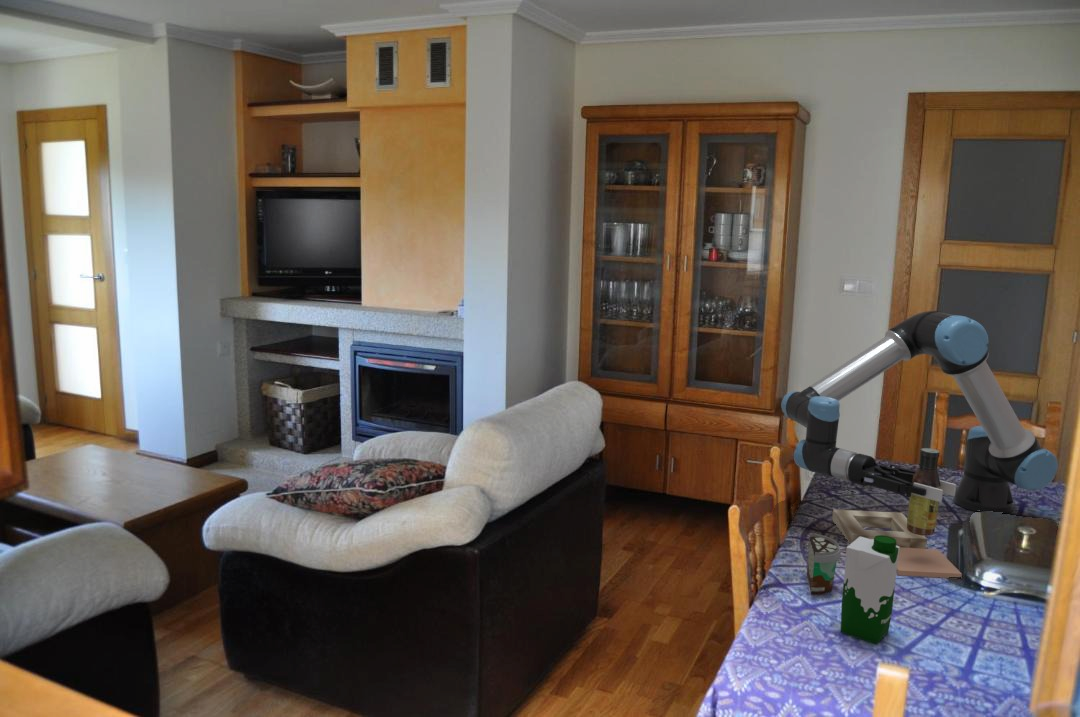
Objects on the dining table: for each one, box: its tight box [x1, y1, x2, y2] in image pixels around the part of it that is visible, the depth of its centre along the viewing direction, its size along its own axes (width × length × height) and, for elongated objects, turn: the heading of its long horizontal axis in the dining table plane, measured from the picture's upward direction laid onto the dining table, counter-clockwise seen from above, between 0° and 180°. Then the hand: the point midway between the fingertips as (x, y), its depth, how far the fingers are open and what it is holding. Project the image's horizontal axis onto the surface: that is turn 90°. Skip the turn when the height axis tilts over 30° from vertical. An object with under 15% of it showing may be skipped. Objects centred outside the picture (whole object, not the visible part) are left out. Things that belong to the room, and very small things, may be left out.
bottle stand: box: [831, 509, 928, 549], centre depth 219 cm, size 18×18×3 cm
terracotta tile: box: [896, 547, 963, 579], centre depth 201 cm, size 14×14×1 cm
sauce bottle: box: [906, 447, 941, 537], centre depth 198 cm, size 6×6×20 cm
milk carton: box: [840, 535, 900, 645], centre depth 167 cm, size 9×9×20 cm
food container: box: [806, 532, 842, 595], centre depth 188 cm, size 12×6×10 cm, turn 168°
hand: (948, 493), depth 194 cm, fingers closed on sauce bottle, 6 cm apart
